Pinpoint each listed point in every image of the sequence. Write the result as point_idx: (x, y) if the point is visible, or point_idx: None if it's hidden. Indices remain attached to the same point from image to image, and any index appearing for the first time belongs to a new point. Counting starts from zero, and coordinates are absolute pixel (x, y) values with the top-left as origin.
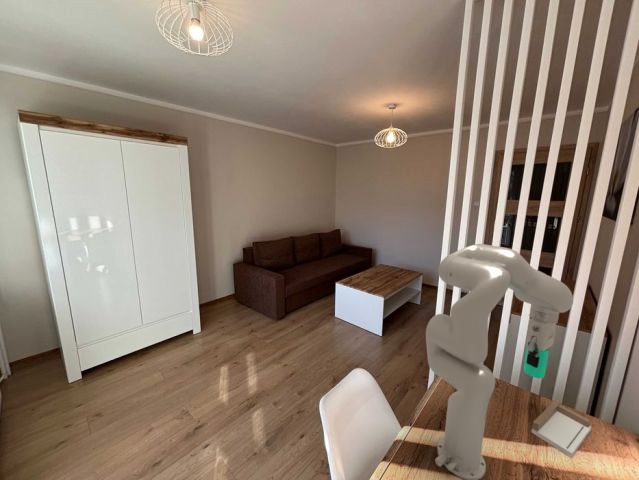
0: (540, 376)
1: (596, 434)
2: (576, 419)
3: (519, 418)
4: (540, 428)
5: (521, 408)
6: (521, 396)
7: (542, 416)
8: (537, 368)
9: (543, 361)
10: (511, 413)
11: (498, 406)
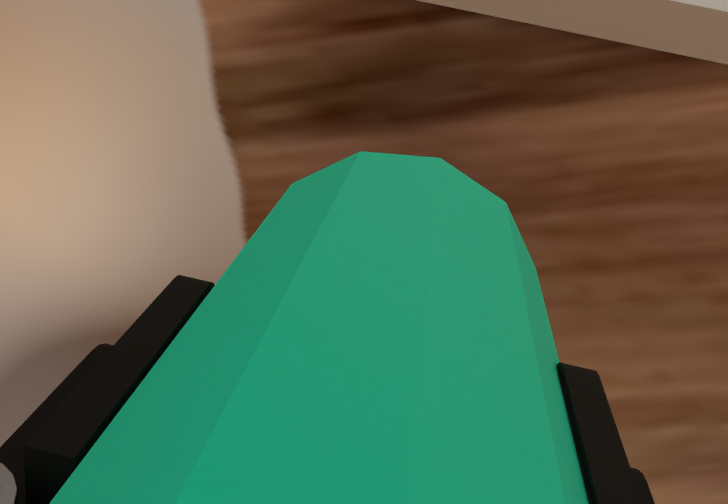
0: (502, 211)
1: None
2: None
3: (601, 155)
4: (696, 5)
5: (451, 164)
6: (282, 189)
7: (615, 17)
8: (551, 343)
9: (526, 393)
10: (581, 211)
11: (564, 295)
